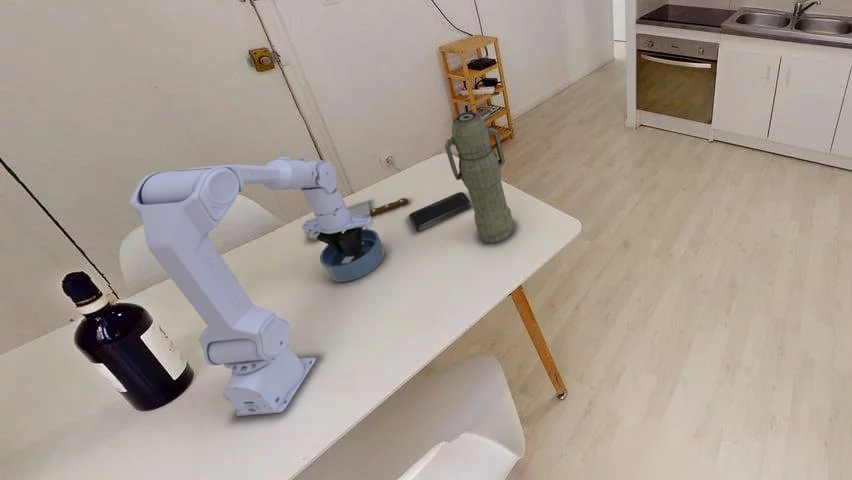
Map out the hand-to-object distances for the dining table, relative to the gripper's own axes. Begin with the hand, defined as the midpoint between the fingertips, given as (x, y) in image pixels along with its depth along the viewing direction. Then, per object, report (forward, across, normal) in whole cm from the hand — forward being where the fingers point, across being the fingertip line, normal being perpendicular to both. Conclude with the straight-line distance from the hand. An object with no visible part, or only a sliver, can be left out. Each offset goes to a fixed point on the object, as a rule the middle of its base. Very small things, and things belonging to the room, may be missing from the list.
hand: (351, 250), depth 98 cm
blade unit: (+2, 0, 0) cm, 2 cm away
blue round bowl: (+4, 0, 0) cm, 4 cm away
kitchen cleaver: (+5, +9, -18) cm, 21 cm away
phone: (+4, -14, -17) cm, 22 cm away
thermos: (+5, -32, -8) cm, 33 cm away
